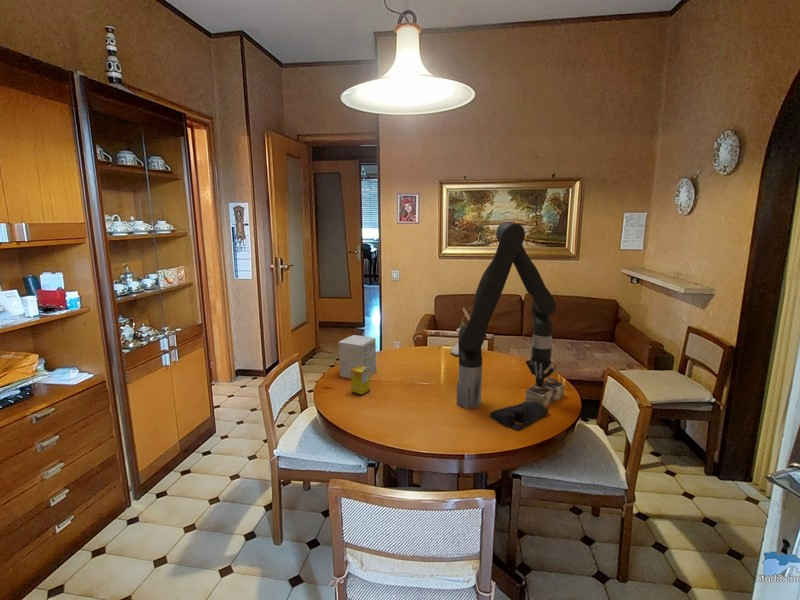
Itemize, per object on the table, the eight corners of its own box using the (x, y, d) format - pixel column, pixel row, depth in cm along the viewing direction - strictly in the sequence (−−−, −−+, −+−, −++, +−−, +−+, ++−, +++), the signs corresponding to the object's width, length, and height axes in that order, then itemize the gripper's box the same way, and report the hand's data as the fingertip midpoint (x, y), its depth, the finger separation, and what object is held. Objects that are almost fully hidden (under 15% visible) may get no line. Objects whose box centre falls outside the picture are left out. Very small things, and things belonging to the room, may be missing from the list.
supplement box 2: (360, 388, 194) (359, 365, 192) (370, 391, 191) (369, 367, 188) (351, 392, 190) (350, 369, 187) (361, 396, 186) (360, 372, 184)
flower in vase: (465, 358, 229) (466, 312, 224) (446, 355, 235) (446, 310, 230) (475, 351, 240) (476, 307, 234) (457, 348, 246) (457, 305, 240)
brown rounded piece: (540, 404, 175) (541, 389, 173) (530, 400, 178) (531, 385, 177) (547, 400, 178) (548, 386, 176) (536, 397, 181) (537, 382, 180)
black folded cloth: (555, 417, 166) (556, 405, 165) (515, 433, 155) (515, 421, 154) (524, 402, 179) (525, 391, 178) (485, 416, 167) (485, 405, 166)
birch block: (542, 407, 173) (543, 394, 172) (525, 401, 179) (525, 387, 178) (563, 396, 183) (564, 383, 182) (546, 390, 189) (547, 377, 188)
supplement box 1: (377, 371, 213) (376, 337, 210) (362, 381, 202) (361, 345, 198) (354, 367, 219) (353, 334, 216) (339, 376, 208) (337, 341, 204)
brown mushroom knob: (552, 397, 180) (553, 383, 179) (542, 394, 184) (543, 379, 183) (559, 394, 183) (560, 380, 182) (548, 391, 187) (549, 376, 186)
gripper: (522, 343, 176) (520, 383, 179) (551, 351, 166) (549, 393, 169) (532, 339, 180) (530, 378, 184) (562, 347, 170) (559, 388, 174)
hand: (539, 385), depth 177 cm, fingers closed
